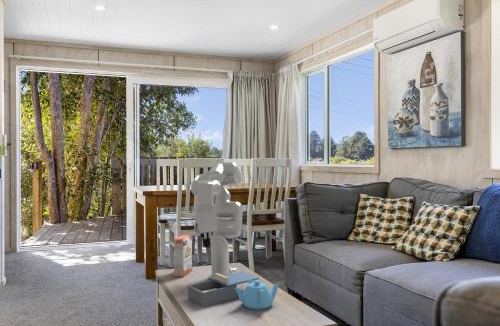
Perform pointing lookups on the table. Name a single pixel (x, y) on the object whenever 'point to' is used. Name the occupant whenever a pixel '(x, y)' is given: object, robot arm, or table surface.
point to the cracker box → (182, 255)
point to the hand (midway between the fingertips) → (206, 246)
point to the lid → (234, 278)
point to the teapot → (257, 295)
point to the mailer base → (211, 293)
